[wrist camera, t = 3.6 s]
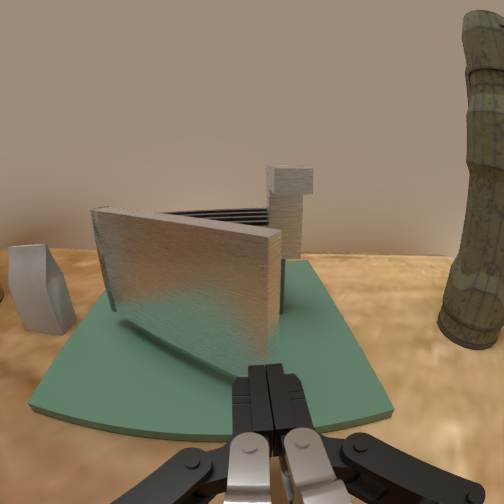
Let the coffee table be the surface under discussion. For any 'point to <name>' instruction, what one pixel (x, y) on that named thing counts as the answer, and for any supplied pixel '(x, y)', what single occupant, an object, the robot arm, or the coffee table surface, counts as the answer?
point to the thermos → (480, 194)
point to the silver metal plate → (194, 282)
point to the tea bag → (39, 290)
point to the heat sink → (206, 374)
